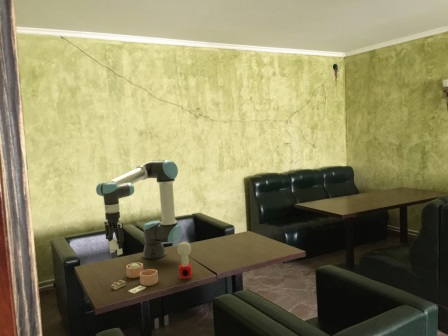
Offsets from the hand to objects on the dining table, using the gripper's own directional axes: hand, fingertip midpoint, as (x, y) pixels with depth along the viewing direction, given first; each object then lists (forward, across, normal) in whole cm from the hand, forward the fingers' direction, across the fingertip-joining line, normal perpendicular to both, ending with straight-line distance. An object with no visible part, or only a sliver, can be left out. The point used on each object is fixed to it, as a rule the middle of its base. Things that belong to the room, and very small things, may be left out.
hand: (116, 253), depth 200 cm
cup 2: (+19, +10, +13) cm, 25 cm away
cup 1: (+19, -6, +16) cm, 25 cm away
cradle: (+19, 0, 0) cm, 19 cm away
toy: (+19, +22, +30) cm, 42 cm away
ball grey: (-5, 0, 0) cm, 5 cm away
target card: (+19, +12, +3) cm, 23 cm away
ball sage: (+15, -6, +16) cm, 23 cm away
